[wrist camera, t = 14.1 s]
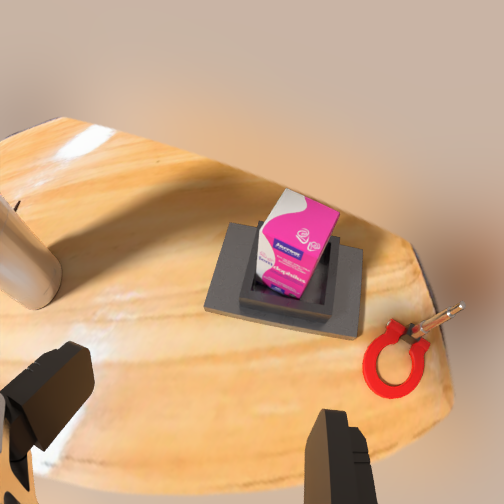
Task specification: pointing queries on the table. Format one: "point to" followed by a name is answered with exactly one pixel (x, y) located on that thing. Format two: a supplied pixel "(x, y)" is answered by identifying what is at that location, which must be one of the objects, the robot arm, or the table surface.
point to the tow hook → (416, 352)
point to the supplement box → (293, 243)
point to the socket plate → (279, 306)
